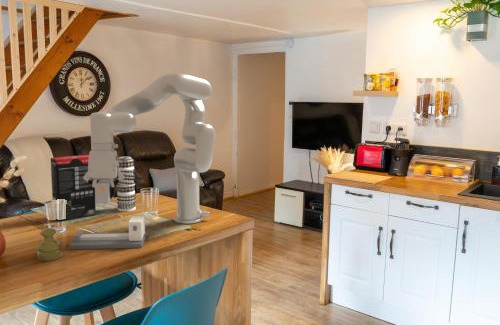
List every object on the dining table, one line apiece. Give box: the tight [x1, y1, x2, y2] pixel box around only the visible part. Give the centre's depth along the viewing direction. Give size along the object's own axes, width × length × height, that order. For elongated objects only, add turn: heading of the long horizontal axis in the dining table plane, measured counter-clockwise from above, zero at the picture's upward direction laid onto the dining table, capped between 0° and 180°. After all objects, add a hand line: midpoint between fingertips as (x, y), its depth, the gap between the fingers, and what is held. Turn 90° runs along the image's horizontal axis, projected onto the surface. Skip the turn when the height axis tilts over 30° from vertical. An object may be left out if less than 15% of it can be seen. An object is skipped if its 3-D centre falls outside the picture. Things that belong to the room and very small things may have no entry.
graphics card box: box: [50, 154, 97, 221], centre depth 186 cm, size 17×7×27 cm, turn 134°
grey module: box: [95, 179, 115, 204], centre depth 153 cm, size 4×9×7 cm, turn 5°
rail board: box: [68, 215, 148, 250], centre depth 156 cm, size 25×13×9 cm, turn 95°
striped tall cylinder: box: [115, 155, 137, 212], centre depth 200 cm, size 9×9×25 cm
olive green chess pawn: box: [36, 227, 63, 262], centre depth 141 cm, size 7×7×10 cm
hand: (104, 196), depth 154 cm, fingers closed on grey module, 4 cm apart
